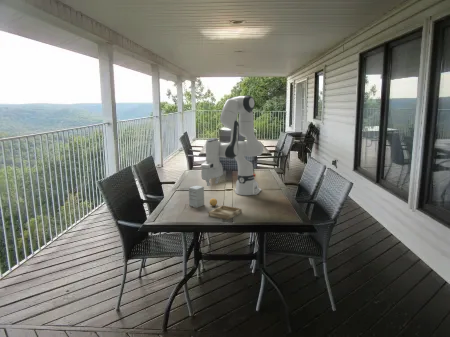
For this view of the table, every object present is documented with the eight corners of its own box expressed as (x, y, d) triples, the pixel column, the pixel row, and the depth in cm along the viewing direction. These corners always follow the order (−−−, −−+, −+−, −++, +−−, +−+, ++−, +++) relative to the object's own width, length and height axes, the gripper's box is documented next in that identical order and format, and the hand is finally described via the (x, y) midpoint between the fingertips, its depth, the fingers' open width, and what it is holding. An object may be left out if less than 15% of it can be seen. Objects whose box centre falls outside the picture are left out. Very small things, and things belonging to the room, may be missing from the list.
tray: (222, 209, 225) (222, 205, 225) (241, 212, 218) (241, 208, 218) (208, 216, 212) (208, 212, 212) (228, 219, 205) (228, 215, 204)
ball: (212, 204, 236) (212, 197, 235) (218, 205, 233) (218, 198, 232) (208, 206, 232) (208, 198, 231) (214, 207, 229) (214, 199, 228)
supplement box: (196, 203, 239) (196, 185, 236) (204, 205, 234) (204, 186, 232) (188, 205, 233) (188, 187, 231) (196, 207, 229) (196, 189, 226)
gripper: (217, 161, 237) (217, 181, 240) (199, 165, 220) (199, 186, 223) (225, 161, 234) (225, 182, 237) (207, 166, 217) (208, 188, 219)
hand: (212, 184), depth 230 cm, fingers open, 8 cm apart
